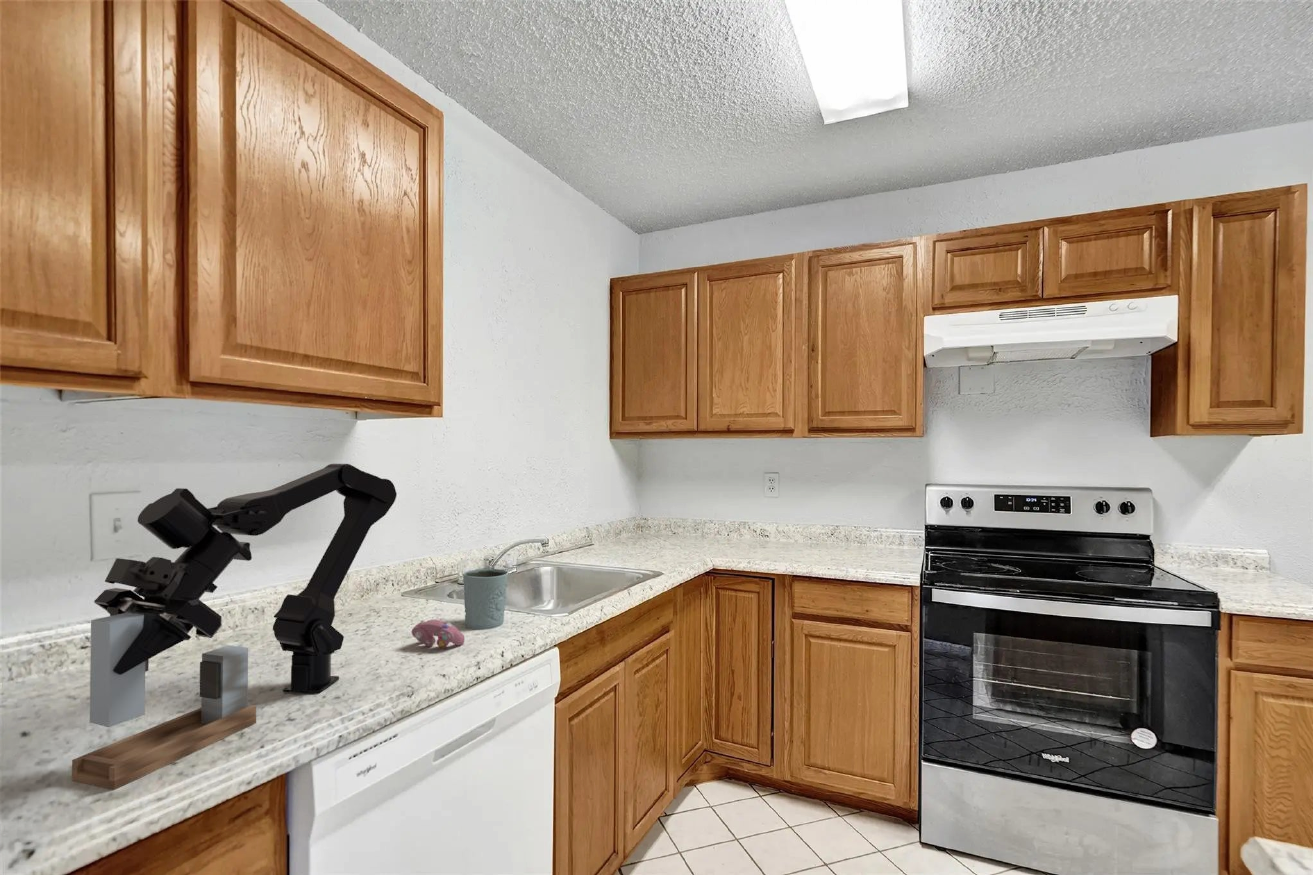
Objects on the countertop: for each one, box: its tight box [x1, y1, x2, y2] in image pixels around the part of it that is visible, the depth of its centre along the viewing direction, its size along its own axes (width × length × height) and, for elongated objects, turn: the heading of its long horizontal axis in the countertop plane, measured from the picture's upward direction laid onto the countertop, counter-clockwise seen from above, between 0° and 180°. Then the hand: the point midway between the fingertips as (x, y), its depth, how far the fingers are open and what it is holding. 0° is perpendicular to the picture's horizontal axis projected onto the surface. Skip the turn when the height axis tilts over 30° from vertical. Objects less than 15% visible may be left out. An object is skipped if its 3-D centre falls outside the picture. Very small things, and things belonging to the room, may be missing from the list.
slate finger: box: [89, 613, 150, 728], centre depth 81 cm, size 5×4×13 cm
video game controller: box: [411, 619, 465, 649], centre depth 129 cm, size 10×5×7 cm, turn 77°
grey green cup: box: [462, 568, 509, 630], centre depth 146 cm, size 10×10×12 cm
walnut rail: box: [71, 645, 257, 791], centre depth 85 cm, size 19×7×11 cm, turn 164°
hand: (106, 670), depth 80 cm, fingers closed on slate finger, 4 cm apart
